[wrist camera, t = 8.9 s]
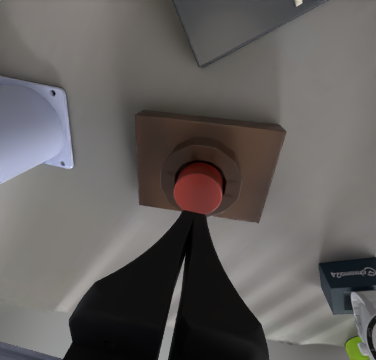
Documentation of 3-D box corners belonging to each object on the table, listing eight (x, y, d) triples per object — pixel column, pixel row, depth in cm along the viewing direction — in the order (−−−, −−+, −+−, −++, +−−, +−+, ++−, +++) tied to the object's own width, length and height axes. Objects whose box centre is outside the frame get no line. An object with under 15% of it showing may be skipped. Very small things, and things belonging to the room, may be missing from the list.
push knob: (177, 197, 18) (172, 211, 16) (179, 159, 16) (174, 170, 15) (219, 203, 18) (218, 218, 16) (225, 165, 16) (226, 177, 14)
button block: (145, 194, 23) (131, 217, 20) (142, 110, 19) (124, 119, 15) (256, 211, 22) (262, 238, 18) (280, 125, 18) (294, 138, 14)
